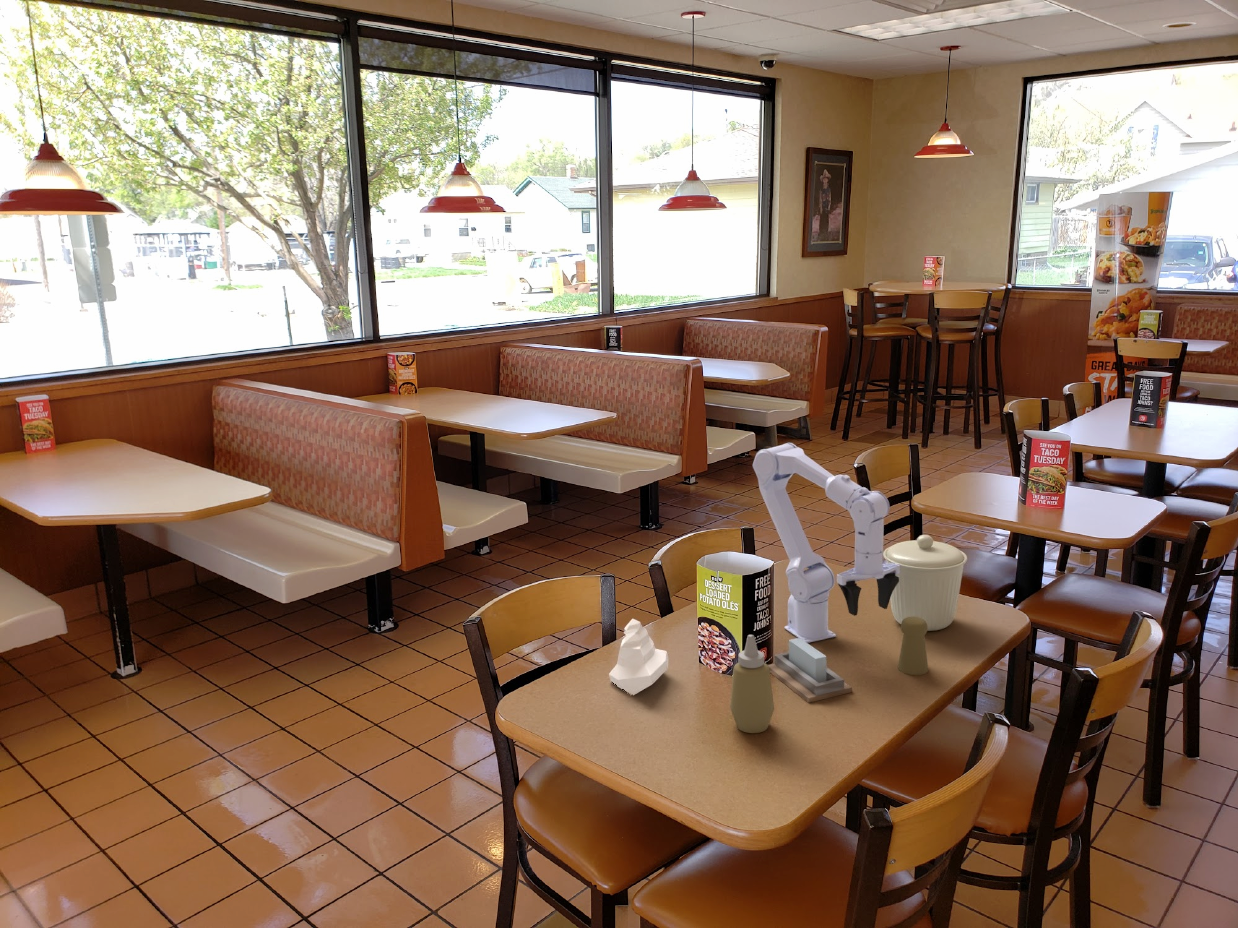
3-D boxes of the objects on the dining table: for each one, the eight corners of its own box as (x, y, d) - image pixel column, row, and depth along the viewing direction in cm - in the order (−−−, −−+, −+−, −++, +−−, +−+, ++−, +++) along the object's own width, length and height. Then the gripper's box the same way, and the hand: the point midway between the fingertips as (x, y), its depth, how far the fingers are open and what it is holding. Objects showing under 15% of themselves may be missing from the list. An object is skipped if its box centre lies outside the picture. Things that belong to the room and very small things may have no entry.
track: (766, 669, 192) (766, 656, 191) (807, 660, 195) (807, 646, 194) (808, 702, 177) (808, 688, 176) (852, 691, 180) (852, 677, 180)
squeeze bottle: (763, 741, 164) (762, 648, 160) (723, 730, 168) (720, 640, 164) (781, 721, 171) (780, 631, 167) (741, 711, 175) (739, 624, 171)
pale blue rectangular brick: (826, 684, 182) (826, 656, 180) (815, 686, 181) (815, 658, 180) (799, 664, 191) (799, 637, 190) (788, 666, 190) (788, 639, 189)
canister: (868, 626, 210) (869, 539, 205) (901, 601, 223) (903, 519, 219) (946, 645, 199) (949, 553, 194) (976, 618, 212) (980, 531, 207)
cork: (895, 672, 188) (896, 622, 185) (900, 660, 193) (902, 611, 190) (925, 677, 185) (927, 626, 182) (930, 664, 190) (932, 615, 187)
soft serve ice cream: (600, 701, 185) (583, 634, 184) (631, 675, 198) (615, 612, 198) (655, 696, 179) (637, 626, 179) (683, 670, 192) (667, 605, 192)
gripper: (850, 561, 185) (850, 623, 188) (909, 549, 190) (908, 610, 193) (831, 551, 192) (830, 611, 195) (888, 540, 196) (887, 599, 200)
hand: (868, 610), depth 194 cm, fingers open, 7 cm apart
